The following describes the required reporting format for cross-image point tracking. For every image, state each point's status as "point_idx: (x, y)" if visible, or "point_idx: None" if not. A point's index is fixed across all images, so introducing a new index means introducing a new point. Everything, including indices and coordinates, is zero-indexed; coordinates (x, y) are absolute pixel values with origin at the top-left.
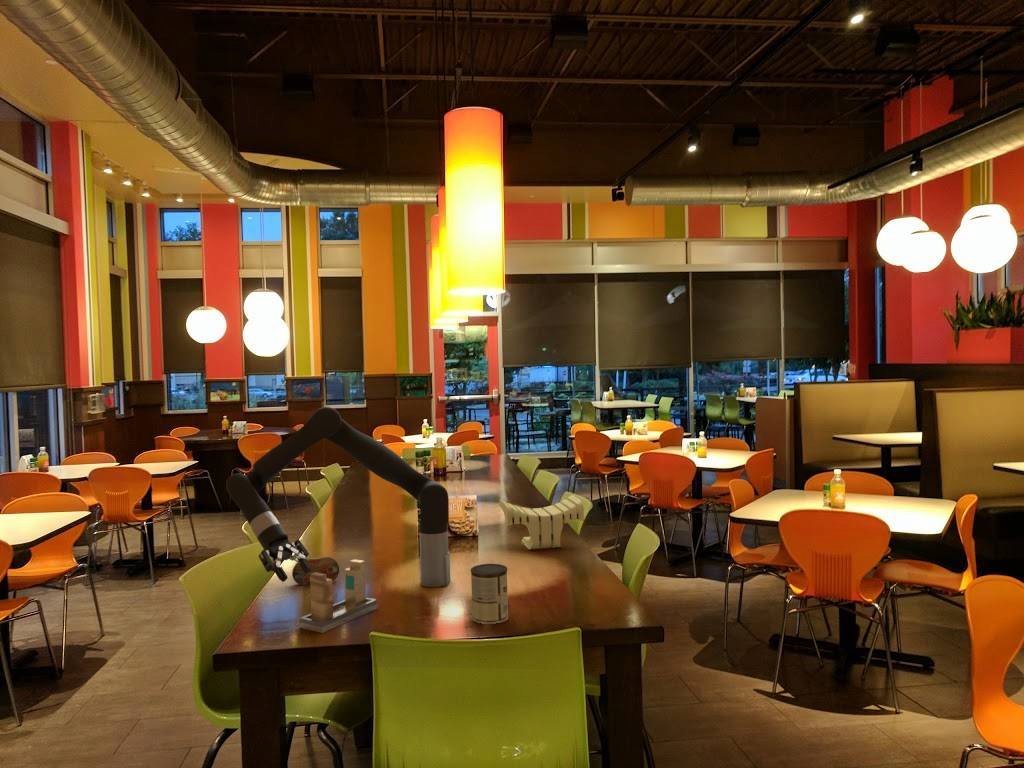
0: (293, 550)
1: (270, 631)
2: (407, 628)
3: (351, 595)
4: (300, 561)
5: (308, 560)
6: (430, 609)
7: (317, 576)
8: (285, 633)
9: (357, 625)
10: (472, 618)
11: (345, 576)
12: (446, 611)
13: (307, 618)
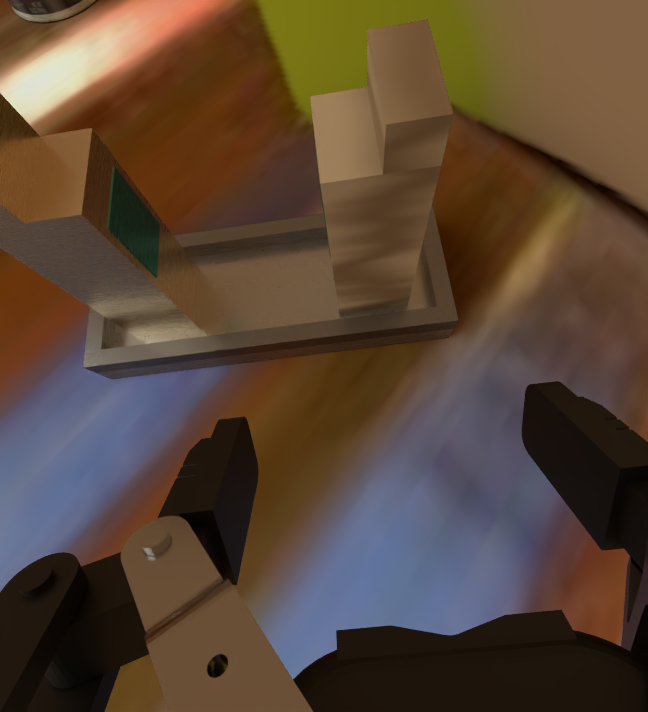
0: (266, 685)
1: None
2: (229, 70)
3: (173, 262)
4: (217, 566)
5: None
6: (55, 132)
7: (434, 55)
8: (529, 333)
9: (294, 192)
10: (86, 4)
11: (114, 237)
12: (54, 89)
13: (438, 286)
